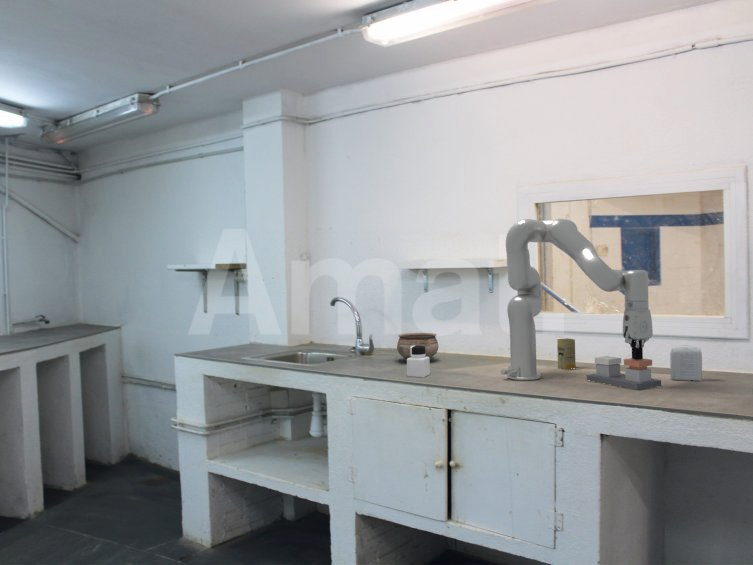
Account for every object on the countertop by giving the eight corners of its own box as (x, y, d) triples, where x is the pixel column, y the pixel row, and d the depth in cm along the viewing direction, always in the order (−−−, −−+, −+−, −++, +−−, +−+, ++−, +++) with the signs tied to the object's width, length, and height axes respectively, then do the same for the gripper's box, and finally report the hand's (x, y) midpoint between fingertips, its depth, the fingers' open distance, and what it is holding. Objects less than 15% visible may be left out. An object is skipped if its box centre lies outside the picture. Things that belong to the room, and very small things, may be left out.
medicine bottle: (430, 374, 251) (429, 344, 251) (423, 377, 245) (422, 347, 244) (413, 373, 254) (412, 344, 254) (406, 376, 248) (406, 346, 247)
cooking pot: (418, 356, 301) (417, 331, 301) (450, 359, 289) (450, 333, 288) (384, 363, 282) (383, 336, 282) (417, 367, 270) (417, 338, 270)
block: (637, 390, 208) (636, 372, 208) (586, 380, 228) (586, 364, 228) (661, 385, 214) (661, 368, 214) (610, 376, 234) (609, 360, 233)
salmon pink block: (639, 379, 211) (639, 361, 211) (624, 376, 217) (623, 359, 216) (652, 377, 214) (652, 359, 214) (636, 374, 220) (636, 357, 219)
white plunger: (608, 376, 222) (608, 359, 222) (595, 374, 228) (594, 357, 228) (621, 374, 225) (621, 358, 225) (607, 372, 231) (607, 356, 231)
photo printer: (701, 379, 224) (700, 344, 224) (703, 381, 220) (702, 346, 219) (669, 378, 227) (669, 344, 227) (671, 380, 223) (670, 346, 223)
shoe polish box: (568, 367, 257) (567, 338, 257) (575, 369, 253) (574, 339, 252) (557, 368, 256) (557, 339, 256) (565, 370, 251) (564, 340, 251)
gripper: (630, 307, 208) (631, 362, 208) (660, 305, 215) (661, 358, 215) (612, 306, 214) (613, 359, 215) (642, 304, 221) (642, 355, 222)
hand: (637, 358), depth 215 cm, fingers closed
